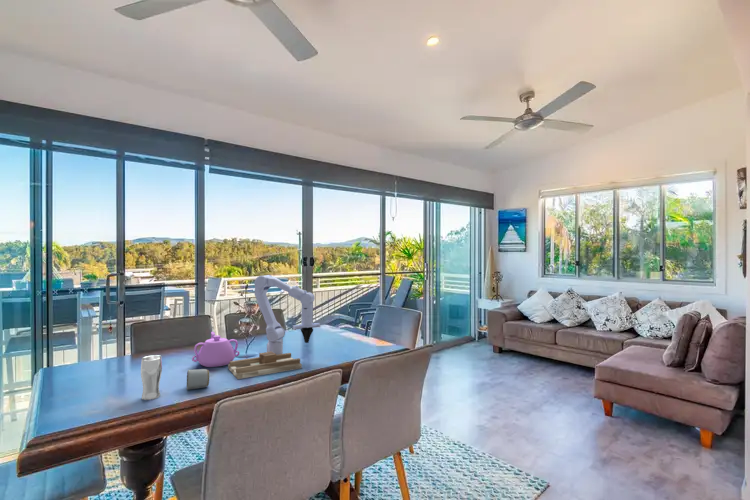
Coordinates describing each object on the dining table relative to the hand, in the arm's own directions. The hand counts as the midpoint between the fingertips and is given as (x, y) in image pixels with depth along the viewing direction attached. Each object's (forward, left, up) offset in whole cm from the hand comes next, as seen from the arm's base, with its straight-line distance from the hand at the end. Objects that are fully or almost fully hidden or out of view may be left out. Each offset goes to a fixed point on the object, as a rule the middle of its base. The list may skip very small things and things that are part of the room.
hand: (306, 342), depth 195 cm
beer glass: (+14, -70, -10) cm, 72 cm away
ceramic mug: (+11, -54, -10) cm, 56 cm away
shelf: (+2, -22, -9) cm, 24 cm away
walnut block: (+2, -21, -7) cm, 22 cm away
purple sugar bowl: (-20, -40, -10) cm, 46 cm away
